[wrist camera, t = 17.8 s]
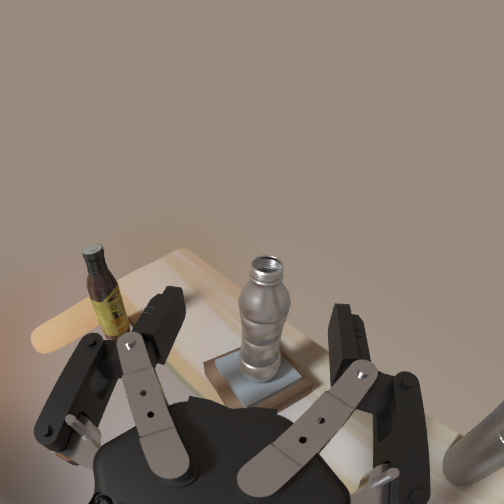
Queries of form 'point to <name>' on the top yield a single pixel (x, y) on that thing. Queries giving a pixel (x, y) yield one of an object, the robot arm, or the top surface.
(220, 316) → the top surface
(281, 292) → the silver bottle
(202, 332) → the top surface
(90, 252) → the sauce bottle
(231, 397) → the plinth
